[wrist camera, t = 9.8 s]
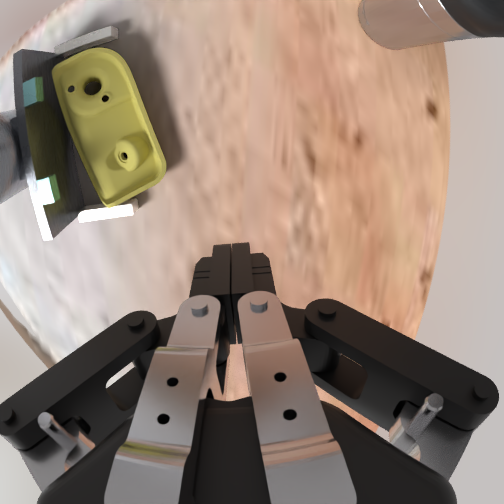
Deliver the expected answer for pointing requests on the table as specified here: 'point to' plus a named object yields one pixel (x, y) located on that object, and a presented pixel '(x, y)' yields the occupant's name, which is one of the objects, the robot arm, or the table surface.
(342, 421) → the robot arm
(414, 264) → the table surface
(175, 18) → the table surface
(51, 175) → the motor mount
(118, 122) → the plastic component
